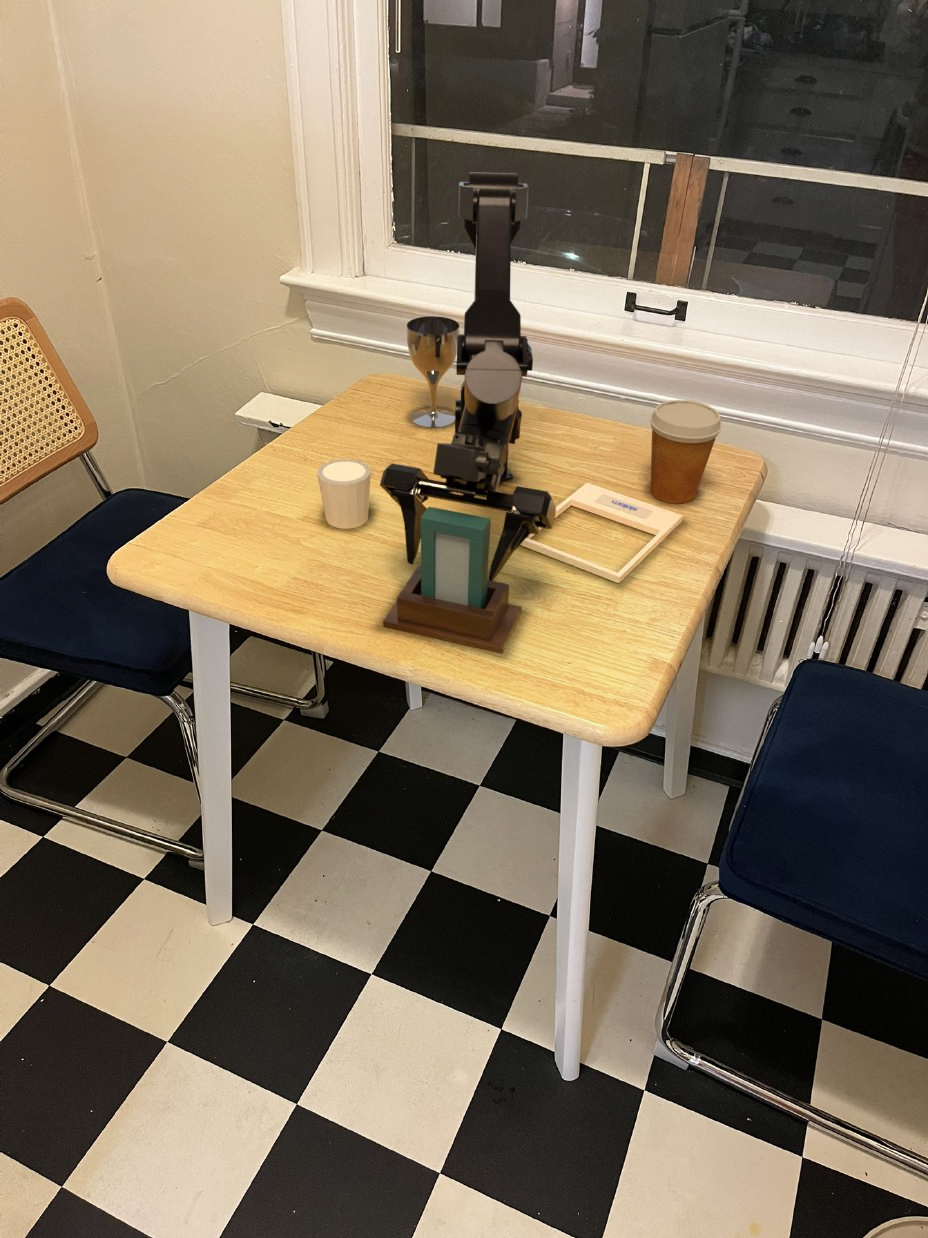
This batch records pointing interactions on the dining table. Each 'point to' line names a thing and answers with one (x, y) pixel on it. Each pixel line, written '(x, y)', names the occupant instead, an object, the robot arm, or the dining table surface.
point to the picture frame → (455, 557)
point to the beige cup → (345, 492)
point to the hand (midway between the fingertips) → (449, 571)
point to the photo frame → (617, 510)
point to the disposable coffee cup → (681, 448)
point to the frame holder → (455, 616)
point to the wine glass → (432, 361)
